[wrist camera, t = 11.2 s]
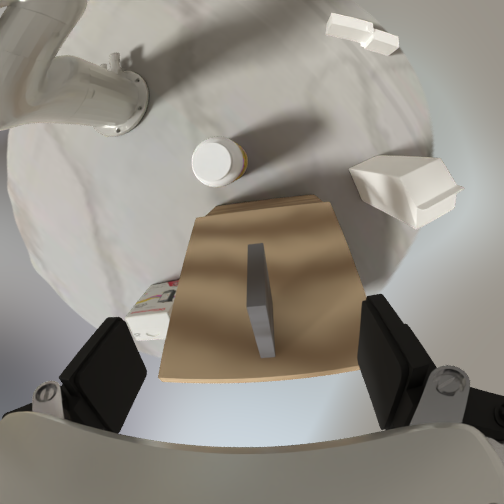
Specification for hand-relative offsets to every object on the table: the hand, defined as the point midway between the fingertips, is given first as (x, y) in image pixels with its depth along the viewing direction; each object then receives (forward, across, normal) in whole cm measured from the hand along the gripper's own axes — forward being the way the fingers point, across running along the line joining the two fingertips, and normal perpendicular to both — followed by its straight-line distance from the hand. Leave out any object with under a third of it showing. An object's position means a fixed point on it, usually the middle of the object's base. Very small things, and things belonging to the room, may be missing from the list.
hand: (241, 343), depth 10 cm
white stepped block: (+37, -21, -26) cm, 50 cm away
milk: (+36, -18, -2) cm, 40 cm away
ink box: (+36, +19, +15) cm, 43 cm away
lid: (+14, 0, +4) cm, 15 cm away
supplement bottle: (+36, +4, -7) cm, 37 cm away
